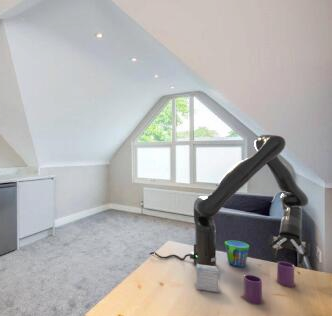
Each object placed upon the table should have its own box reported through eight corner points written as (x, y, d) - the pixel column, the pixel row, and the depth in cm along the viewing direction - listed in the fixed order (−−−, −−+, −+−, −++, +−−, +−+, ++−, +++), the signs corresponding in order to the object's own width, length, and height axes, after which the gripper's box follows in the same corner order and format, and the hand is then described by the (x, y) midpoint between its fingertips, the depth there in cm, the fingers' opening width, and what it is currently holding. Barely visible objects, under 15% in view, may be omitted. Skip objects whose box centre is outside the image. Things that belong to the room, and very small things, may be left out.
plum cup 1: (242, 299, 92) (242, 278, 92) (246, 293, 96) (246, 273, 96) (259, 306, 88) (259, 283, 88) (263, 299, 92) (263, 278, 92)
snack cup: (234, 256, 130) (234, 237, 130) (255, 263, 121) (255, 243, 121) (217, 264, 122) (217, 243, 122) (240, 272, 113) (239, 250, 113)
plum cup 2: (276, 283, 103) (276, 264, 103) (278, 278, 107) (278, 260, 107) (293, 288, 99) (293, 268, 99) (295, 283, 103) (295, 264, 103)
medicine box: (216, 287, 101) (216, 266, 101) (218, 293, 96) (218, 271, 96) (196, 284, 103) (195, 263, 103) (196, 289, 99) (196, 268, 99)
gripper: (270, 220, 116) (265, 251, 108) (310, 226, 106) (308, 261, 98) (272, 229, 120) (268, 259, 112) (311, 235, 110) (309, 269, 102)
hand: (286, 260), depth 105 cm, fingers open, 8 cm apart
